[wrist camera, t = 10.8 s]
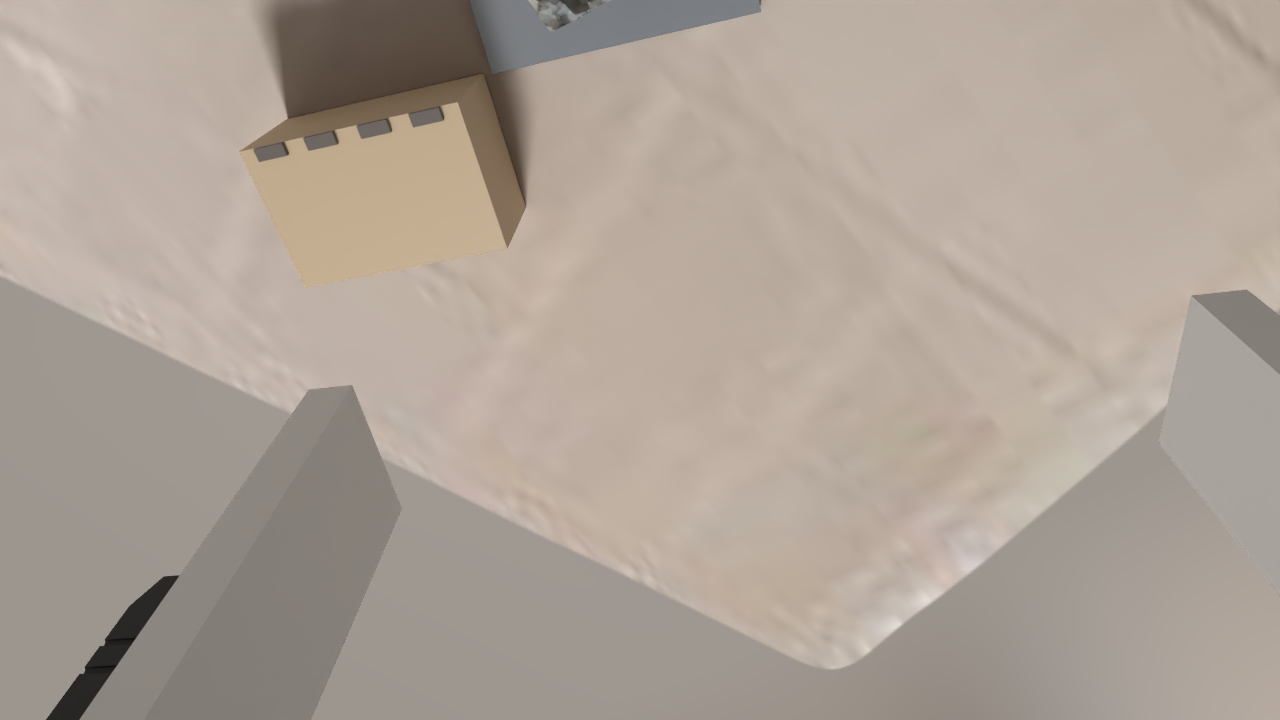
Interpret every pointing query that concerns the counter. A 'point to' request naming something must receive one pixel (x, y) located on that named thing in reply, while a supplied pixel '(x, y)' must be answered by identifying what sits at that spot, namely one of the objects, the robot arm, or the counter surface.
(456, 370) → the counter surface
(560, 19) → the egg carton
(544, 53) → the mat
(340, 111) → the sleeve
